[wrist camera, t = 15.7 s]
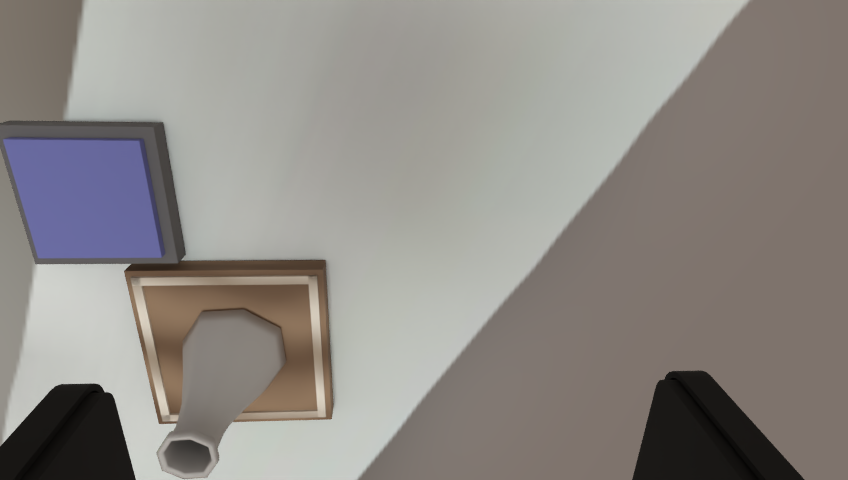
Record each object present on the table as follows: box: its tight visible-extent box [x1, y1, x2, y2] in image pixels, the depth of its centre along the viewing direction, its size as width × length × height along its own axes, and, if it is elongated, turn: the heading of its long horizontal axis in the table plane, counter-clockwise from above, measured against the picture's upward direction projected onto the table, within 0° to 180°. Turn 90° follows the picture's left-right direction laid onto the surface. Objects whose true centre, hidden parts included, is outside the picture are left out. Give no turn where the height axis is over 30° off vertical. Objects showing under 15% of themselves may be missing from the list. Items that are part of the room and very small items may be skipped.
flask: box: [157, 309, 286, 479], centre depth 32 cm, size 7×7×10 cm
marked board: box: [124, 260, 333, 424], centre depth 38 cm, size 13×13×2 cm
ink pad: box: [0, 121, 186, 264], centre depth 32 cm, size 9×9×2 cm
